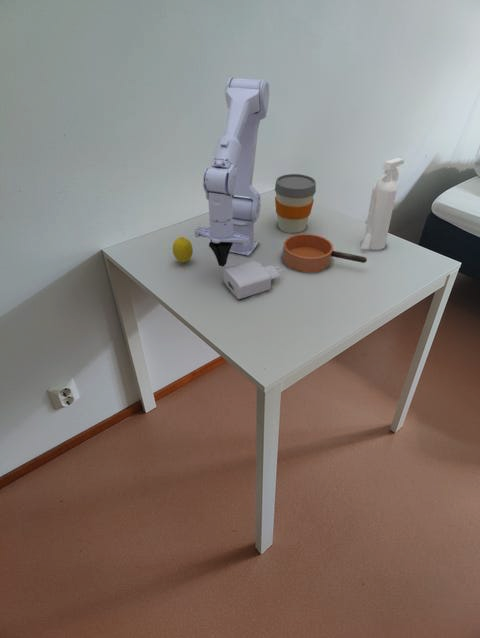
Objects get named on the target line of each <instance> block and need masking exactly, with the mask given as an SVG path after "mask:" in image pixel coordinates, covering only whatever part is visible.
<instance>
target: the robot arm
mask: <svg viewBox="0 0 480 638" xmlns="http://www.w3.org/2000/svg"><path fill="white" fill-rule="evenodd" d="M224 91H225V92H224V95H225V101H226V107H227V109H228V112H227V118H226V124H225V129H224V134H223V135H224V136H223V135H222V136H221V137H220V138H219V139H218V140H217V142H216V146H215V150H214V153H213V156H212V160H211V164H210V166H209V167H208V168H206V169H205V170H204V173H203V178H202V188H203V191H204V192H205V198H206V200H207V202H208V203H207V204H208V217H209V219H208V220H209V227H203V226H197V227H196V228H195V229H193V230H194V237H196V238H200V237H202V238H207V239H209V240H210V242H209V243H208V246H209V248H210V249H211V251H212V252H213V254H214V256H215V258H216V261H217V264H218V266H219V267H223V268H224V267H225V266H226V264H227V261H228V256H229V255H230V254H229V253H233V254H239V255H242V256H249V257H250V255H251V254H252V253H253V251H254V250H255V249H256V247H257V246H258V245H259V242H258V241H254V240H255V239H254V238H255V236H254V235H255V223H256V222H257V221H258V219H259V218H260V213H261V194H260V192H259V191H258V190H256V188H255V187H254V186H253V179H254V169H255V161H256V152H257V144H258V143H257V142H258V134H259V127H260V123H261V120H264V119H265V118H267V114H268V111H269V101H270V84H269V82H268V80H267V79H266V78H263V79H256V78H241V77H240V78H239V77H232V76H230V77H229V78H228V80H227V82H226V85H225V89H224Z"/></svg>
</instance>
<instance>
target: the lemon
mask: <svg viewBox="0 0 480 638" xmlns="http://www.w3.org/2000/svg"><path fill="white" fill-rule="evenodd" d="M193 251H194V249H193V245H192V242H191V241H190V239H188V238H186V237H185V236H180V237H178V238H177V239H175V240H174V242H173V243H172V254H173V256H174V258H175V259H176V260H177V261H179V262H181V263H186V262H188V261H190V260H191V258H192V256H193V254H194V253H193Z"/></svg>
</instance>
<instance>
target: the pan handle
mask: <svg viewBox="0 0 480 638" xmlns="http://www.w3.org/2000/svg"><path fill="white" fill-rule="evenodd" d="M329 252H330V251H329ZM329 252H328V253H329ZM331 256H332V258H336V259H341V260H348V261H352V262H357V263H362V264H366V262H367V260H368V259H367V257H366V256H362V255H356V254H351V253H347V252H341V251H337V250H333V251H332V254H331Z"/></svg>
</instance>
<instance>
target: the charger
mask: <svg viewBox="0 0 480 638" xmlns="http://www.w3.org/2000/svg"><path fill="white" fill-rule="evenodd" d="M278 269H279V270H278ZM222 270H223V271H222V275H223V276H222V277H223V283H224V285H225V286H226V287H227V288H228V289H229V290H230V292H231V293H232V294H233V296H235V298H236V299H238V300H241V299H244V298H247V297H250V296H254V295H257V294H261V293H263V292H266V291H269V290H270V289H271V286H272V280H275V279H278V278H280V277H281V275H280V273H282V272H284V271H283V269H280V266H276V267H274V266H273V265H265V266H262V264H261V263H260V262H258V261H255V260H251V261H247V262H245V263H241V264H237V265H234V266H230V267H227V268H223V269H222Z"/></svg>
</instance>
